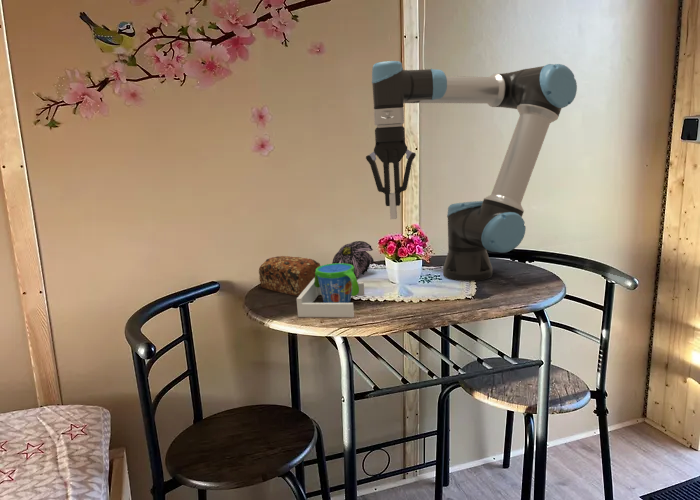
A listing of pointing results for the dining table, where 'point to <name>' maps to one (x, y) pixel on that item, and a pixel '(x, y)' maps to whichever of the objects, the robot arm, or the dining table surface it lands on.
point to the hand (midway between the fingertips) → (393, 218)
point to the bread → (287, 274)
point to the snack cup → (336, 282)
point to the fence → (323, 304)
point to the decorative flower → (355, 256)
